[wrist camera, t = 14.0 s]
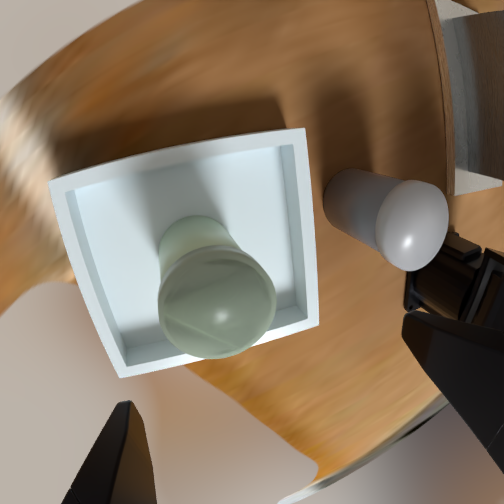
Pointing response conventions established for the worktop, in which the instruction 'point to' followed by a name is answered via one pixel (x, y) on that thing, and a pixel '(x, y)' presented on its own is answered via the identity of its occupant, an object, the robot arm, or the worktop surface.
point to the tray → (177, 207)
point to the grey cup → (389, 215)
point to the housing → (471, 94)
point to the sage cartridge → (211, 290)
